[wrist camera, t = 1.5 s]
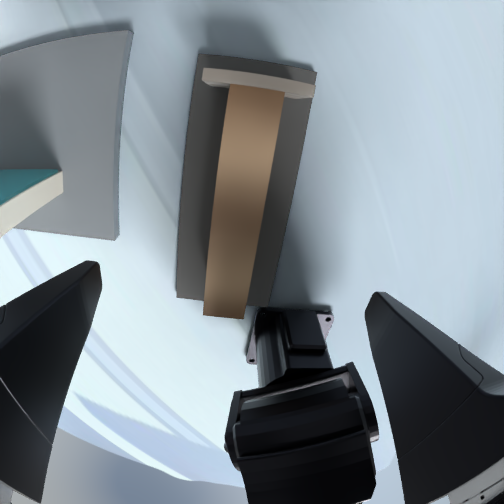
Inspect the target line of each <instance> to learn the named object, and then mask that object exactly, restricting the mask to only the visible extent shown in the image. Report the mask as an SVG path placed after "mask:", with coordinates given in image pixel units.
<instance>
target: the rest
mask: <svg viewBox="0 0 504 504" xmlns="http://www.w3.org/2000/svg"><path fill="white" fill-rule="evenodd" d="M204 68H213V69H223V70H232V71H240V72H248V73H254V74H261V75H267V76H273V77H278V78H284V79H289V80H294V81H298V82H303V83H307V84H312V85H315V81H316V75H317V72H314V71H310V70H306V69H301V68H297V67H292V66H287V65H282V64H277V63H271V62H265V61H259V60H253V59H245V58H238V57H229V56H220V55H208V54H199V55H198V61H197V67H196V73H195V79H194V86H193V93H192V100H191V107H190V114H189V122H188V130H187V139H186V148H185V158H184V168H183V179H182V191H181V204H180V219H179V237H178V260H177V298H185V299H193V300H201V301H204V294H205V283H206V271H207V261H208V250H209V240H210V231H211V221H212V212H213V204H214V195H215V187H216V179H217V171H218V163H219V156H220V148H221V141H222V134H223V127H224V120H225V114H226V107H227V101H228V94H229V88H222V87H212V86H209V85H208V84H207V83H205V82H204V81H202V75H203V69H204ZM311 103H312V98H301V99H293V98H288V97H284V101H283V106H282V112H281V118H280V123H279V129H278V134H277V140H276V145H275V151H274V156H273V162H272V167H271V173H270V178H269V184H268V189H267V195H266V200H265V206H264V211H263V217H262V222H261V228H260V233H259V239H258V244H257V249H256V255H255V260H254V266H253V271H252V277H251V282H250V287H249V293H248V298H247V303H246V305H249V306H259V307H268V304H269V300H270V296H271V291H272V287H273V283H274V279H275V274H276V270H277V266H278V261H279V257H280V252H281V248H282V244H283V239H284V235H285V230H286V226H287V221H288V216H289V212H290V207H291V203H292V198H293V193H294V188H295V184H296V179H297V174H298V169H299V164H300V159H301V154H302V149H303V144H304V139H305V134H306V129H307V124H308V119H309V113H310V108H311Z"/></svg>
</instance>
